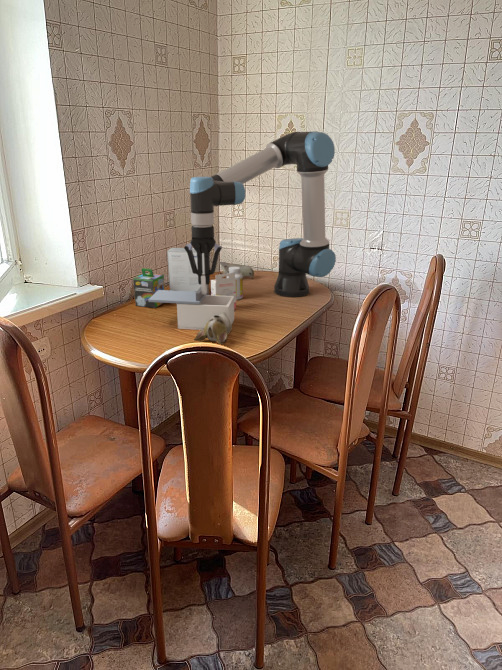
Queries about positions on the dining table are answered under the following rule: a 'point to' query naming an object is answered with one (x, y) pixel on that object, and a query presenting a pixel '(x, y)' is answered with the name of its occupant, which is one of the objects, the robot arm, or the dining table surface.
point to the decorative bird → (243, 269)
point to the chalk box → (147, 288)
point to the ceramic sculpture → (216, 329)
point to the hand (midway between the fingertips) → (204, 293)
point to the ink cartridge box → (224, 286)
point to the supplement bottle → (237, 281)
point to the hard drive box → (183, 271)
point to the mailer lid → (178, 297)
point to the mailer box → (204, 311)
